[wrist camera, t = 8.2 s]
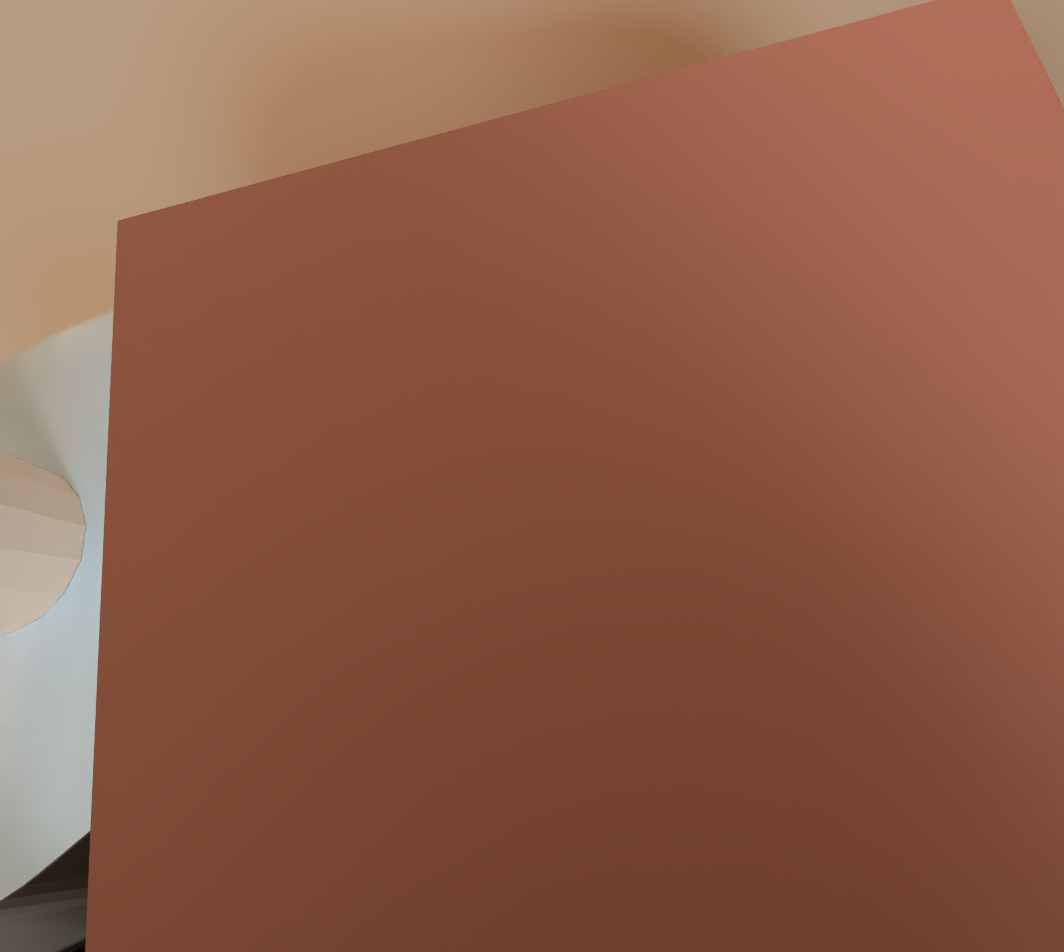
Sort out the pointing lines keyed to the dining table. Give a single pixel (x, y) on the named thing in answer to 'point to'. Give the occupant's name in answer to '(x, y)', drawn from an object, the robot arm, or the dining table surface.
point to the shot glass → (35, 540)
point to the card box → (604, 525)
